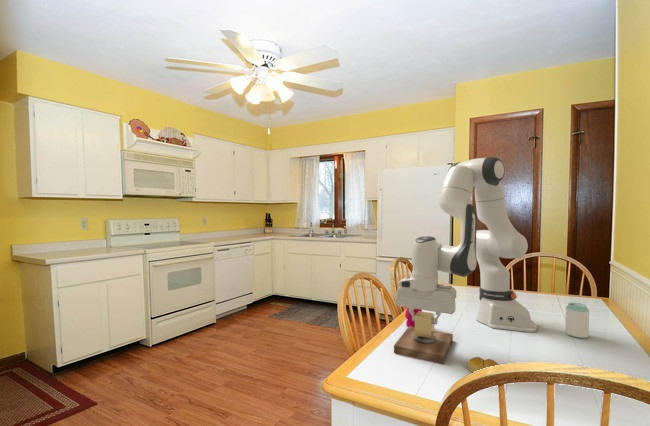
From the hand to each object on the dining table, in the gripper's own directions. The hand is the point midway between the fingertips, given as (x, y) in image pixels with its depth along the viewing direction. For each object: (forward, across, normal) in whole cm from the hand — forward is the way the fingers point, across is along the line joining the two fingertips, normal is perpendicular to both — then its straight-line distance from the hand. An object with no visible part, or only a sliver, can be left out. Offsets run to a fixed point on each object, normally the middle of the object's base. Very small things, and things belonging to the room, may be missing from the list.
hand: (424, 322), depth 114 cm
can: (+9, -49, -38) cm, 63 cm away
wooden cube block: (+4, 0, 0) cm, 4 cm away
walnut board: (+9, 0, 0) cm, 9 cm away
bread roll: (+9, -20, +9) cm, 23 cm away
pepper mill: (+9, +8, -18) cm, 22 cm away
